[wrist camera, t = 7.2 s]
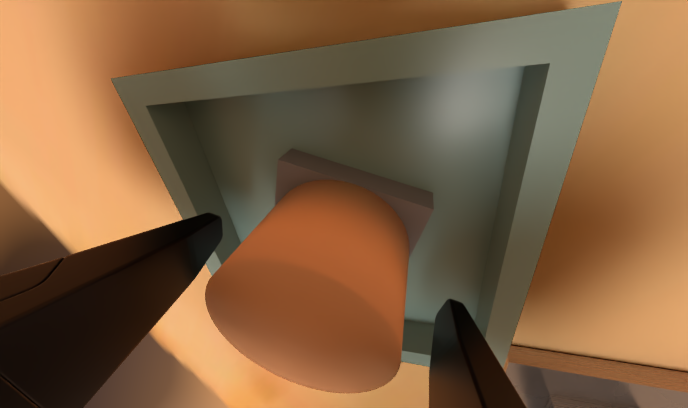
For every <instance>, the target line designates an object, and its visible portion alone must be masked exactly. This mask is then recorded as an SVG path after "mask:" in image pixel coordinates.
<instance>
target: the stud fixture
mask: <svg viewBox="0 0 688 408" xmlns="http://www.w3.org/2000/svg"><path fill="white" fill-rule="evenodd" d="M503 369H504V371H505V373H506V374H507V376H508V378H509V379H510V381H511V382H512V384H513V386H514V387H515V389H516V391H517V392H518V394H519V396H520V397H521V399H522V401H523V402H524V404H525V406H526V407H527V408H688V373H686V372H680V371H673V370H667V369H660V368H654V367H648V366H641V365H635V364H628V363H622V362H615V361H609V360H602V359H596V358H589V357H583V356H576V355H570V354H564V353H557V352H551V351H544V350H538V349H531V348H525V347H518V346H512V345H511V346H510V349H509V352H508V355H507V358H506V361H505V364H504V368H503Z"/></svg>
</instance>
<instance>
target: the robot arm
mask: <svg viewBox="0 0 688 408" xmlns="http://www.w3.org/2000/svg"><path fill="white" fill-rule="evenodd" d="M222 237H223V226H222V218H221V216H219V215H216V214H213V213H210V212H208V213H204V214H201V215H197V216H194V217H191V218H188V219H184V220H181V221H178V222H175V223H172V224H168V225H165V226H162V227H159V228H155V229H152V230H149V231H146V232H143V233H139V234H136V235H133V236H130V237H126V238H123V239H120V240H117V241H113V242H110V243H107V244H104V245H101V246H97V247H94V248H91V249H88V250H84V251H81V252H78V253H75V254H71V255H68V256H66V257H65V258H63V257H62V258H58V259H55V260H52V261H49V262H45V263H42V264H39V265H36V266H32V267H29V268H25V269H22V270H19V271H15V272H12V273H8V274H5V275H1V276H0V408H84V406H85V405H86V404H87V403H88V402H89V401H90V400H91V398H92V397H93V396H94V395H95V394H96V393H97V391H98V390H99V389H100V388H101V387H102V386H103V384H104V383H105V382H106V381H107V380H108V379H109V378H110V376H111V375H112V374H113V373H114V372H115V371H116V369H117V368H118V367H119V366H120V365H121V364H122V362H123V361H124V360H125V359H126V358H127V357H128V356H129V354H130V353H131V352H132V351H133V350H134V348H135V347H136V346H137V345H138V344H139V343H140V342H141V340H142V339H143V338H144V337H145V336H146V335H147V334H148V332H149V331H150V330H151V329H152V328H153V327H154V325H155V324H156V323H157V322H158V321H159V320H160V319H161V317H162V316H163V315H164V314H165V313H166V312H167V310H168V309H169V308H170V307H171V306H172V305H173V303H174V302H175V301H176V300H177V299H178V298H179V297H180V295H181V294H182V293H183V292H184V291H185V290H186V288H187V287H188V286H189V285H190V284H191V282H192V281H193V280H194V279H195V277H196V276H197V275H198V273H199V272H200V270H201V269H202V268H203V266H204V265H205V263H206V262H207V260H208V259H209V258H210V256H211V255H212V253H213V252H214V250H215V249H216V248H217V246H218V245H219V243H220V242H221V240H222ZM429 408H527V407H526V406H525V404H524V402H523V401H522V399H521V397H520V396H519V394H518V392H517V391H516V389H515V387H514V386H513V384H512V382H511V381H510V379H509V378H508V376H507V374H506V373H505V371H504V369H503V368H502V366H501V364H500V363H499V361H498V359H497V358H496V356H495V354H494V353H493V351H492V350H491V348H490V346H489V345H488V343H487V341H486V340H485V338H484V336H483V335H482V333H481V331H480V330H479V328H478V327H477V325H476V323H475V322H474V320H473V318H472V317H471V315H470V313H469V312H468V310H467V308H466V307H465V305H464V304H463V303H462V302H459V301H456V300H454V299H447V300H446V302H445V303H444V304H443V306H442V307H441V308H440V310H439V311H438V313H437V315H436V317H435V323H434V332H433V341H432V350H431V359H430V369H429Z"/></svg>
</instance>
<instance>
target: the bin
mask: <svg viewBox="0 0 688 408" xmlns="http://www.w3.org/2000/svg"><path fill="white" fill-rule="evenodd" d="M621 3H622V1H620V2H613V3H607V4H600V5H594V6H587V7H580V8H574V9H567V10H561V11H554V12H547V13H541V14H534V15H528V16H521V17H514V18H508V19H501V20H495V21H488V22H481V23H475V24H468V25H461V26H455V27H448V28H442V29H435V30H428V31H422V32H415V33H409V34H402V35H395V36H389V37H382V38H376V39H369V40H362V41H356V42H349V43H343V44H336V45H329V46H323V47H316V48H310V49H303V50H296V51H290V52H283V53H276V54H270V55H263V56H257V57H250V58H243V59H237V60H230V61H224V62H217V63H210V64H204V65H197V66H191V67H184V68H177V69H171V70H164V71H158V72H151V73H144V74H138V75H131V76H124V77H118V78H111V80H112V82H113V84H114V86H115V88H116V90H117V92H118V94H119V96H120V98H121V100H122V102H123V104H124V106H125V108H126V110H127V112H128V114H129V115H130V117H131V119H132V121H133V123H134V125H135V127H136V129H137V131H138V133H139V135H140V137H141V139H142V141H143V143H144V145H145V147H146V149H147V151H148V152H149V154H150V156H151V158H152V160H153V162H154V164H155V166H156V168H157V170H158V172H159V174H160V176H161V178H162V180H163V182H164V184H165V186H166V187H167V189H168V191H169V193H170V195H171V197H172V199H173V201H174V203H175V205H176V207H177V209H178V211H179V213H180V215H181V217H182V219H183V220H184V219H188V218H191V217H194V216H197V215H201V214H204V213H208V212H210V213H213V214H216V215H219V216H221V218H222V226H223V237H222V240H221V242H220V243H219V245H218V246H217V248H216V249H215V250H214V252H213V253H212V255H211V256H210V258H209V259H208V260H207V262H206V265H207V267H208V269H209V271H210V273H211V275H212V276H213V274H214V273H215V272H216V271H217V270H218V269H219V268H220V267H221V265H222V264H223V263H224V262H225V261H226V260H227V259H228V258H229V257H230V255H231V254H232V253H233V252H234V251H235V250H236V249H237V248H238V247H239V245H240V244H241V243H242V242H243V241H244V240H245V239H246V238H247V237H248V235H249V234H250V233H251V232H252V231H253V230H254V229H255V228H256V227H257V226H258V224H259V223H260V222H261V221H262V220H263V219H264V218H265V217H266V216H267V214H268V213H269V212H270V211H271V210H272V209H273V208H274V207H275V193H276V179H277V165H278V159H279V158H281V157H282V156H283V155H284V154H285V153H287V152H288V151H289V150H290V149H295V150H299V151H302V152H305V153H308V154H311V155H314V156H318V157H321V158H324V159H327V160H330V161H334V162H337V163H340V164H343V165H346V166H349V167H353V168H356V169H359V170H362V171H365V172H368V173H372V174H375V175H378V176H381V177H384V178H388V179H391V180H394V181H397V182H400V183H403V184H407V185H410V186H413V187H416V188H419V189H423V190H426V191H429V192H432V193H433V204H434V210H433V212H432V214H431V216H430V218H429V220H428V222H427V224H426V226H425V228H424V230H423V232H422V234H421V236H420V238H419V240H418V242H417V244H416V246H415V248H414V250H413V252H412V254H411V256H410V258H409V263H408V276H407V289H406V302H405V315H404V328H403V341H402V354H401V361H402V362H407V363H412V364H417V365H423V366H428V367H430V359H431V350H432V341H433V332H434V323H435V317H436V315H437V313H438V311H439V310H440V308H441V307H442V306H443V304H444V303H445V302H446V300H447V299H454V300H456V301H459V302H462V303H463V304H464V305H465V307H466V308H467V310H468V312H469V313H470V315H471V317H472V318H473V320H474V322H475V323H476V325H477V327H478V328H479V330H480V331H481V333H482V335H483V336H484V338H485V340H486V341H487V343H488V345H489V346H490V348H491V350H492V351H493V353H494V354H495V356H496V358H497V359H498V361H499V363H500V364H501V366H502V368H504V364H505V361H506V358H507V355H508V352H509V349H510V346H511V343H512V340H513V337H514V334H515V330H516V327H517V324H518V321H519V318H520V315H521V312H522V309H523V306H524V303H525V299H526V296H527V293H528V290H529V287H530V284H531V281H532V278H533V275H534V272H535V269H536V265H537V262H538V259H539V256H540V253H541V250H542V247H543V244H544V241H545V238H546V235H547V231H548V228H549V225H550V222H551V219H552V216H553V213H554V210H555V207H556V204H557V201H558V197H559V194H560V191H561V188H562V185H563V182H564V179H565V176H566V173H567V170H568V167H569V163H570V160H571V157H572V154H573V151H574V148H575V145H576V142H577V139H578V136H579V133H580V129H581V126H582V123H583V120H584V117H585V114H586V111H587V108H588V105H589V102H590V99H591V95H592V92H593V89H594V86H595V83H596V80H597V77H598V74H599V71H600V68H601V64H602V61H603V58H604V55H605V52H606V49H607V46H608V43H609V40H610V37H611V34H612V30H613V27H614V24H615V21H616V18H617V15H618V12H619V9H620V6H621Z"/></svg>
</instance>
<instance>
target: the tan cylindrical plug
mask: <svg viewBox="0 0 688 408" xmlns="http://www.w3.org/2000/svg"><path fill="white" fill-rule="evenodd" d="M433 210H434V204H433V193H432V192H429V191H426V190H423V189H419V188H416V187H413V186H410V185H407V184H403V183H400V182H397V181H394V180H391V179H388V178H384V177H381V176H378V175H375V174H372V173H368V172H365V171H362V170H359V169H356V168H353V167H349V166H346V165H343V164H340V163H337V162H334V161H330V160H327V159H324V158H321V157H318V156H314V155H311V154H308V153H305V152H302V151H299V150H295V149H290V150H289V151H288V152H287V153H285V154H284V155H283V156H282V157H281V158H279V159H278V165H277V179H276V193H275V207H274V208H273V209H272V210H271V211H270V212H269V213H268V214H267V216H266V217H265V218H264V219H263V220H262V221H261V222H260V223H259V224H258V226H257V227H256V228H255V229H254V230H253V231H252V232H251V233H250V234H249V235H248V237H247V238H246V239H245V240H244V241H243V242H242V243H241V244H240V245H239V247H238V248H237V249H236V250H235V251H234V252H233V253H232V254H231V255H230V257H229V258H228V259H227V260H226V261H225V262H224V263H223V264H222V265H221V267H220V268H219V269H218V270H217V271H216V272H215V273H214V274H213V276H212V277H211V278H210V280H209V282H208V284H207V286H206V292H205V300H206V305H207V309H208V312H209V314H210V317H211V319H212V320H213V322H214V324H215V325H216V327H217V328H218V330H219V331H220V332H221V334H222V335H223V336H224V337H225V338H226V339H227V340H228V341H229V342H230V343H231V344H232V345H233V346H234V347H235V348H236V349H237V350H238V351H239V352H241V353H242V354H243V355H244V356H246V357H247V358H248V359H250V360H251V361H253V362H254V363H256V364H257V365H259V366H261V367H262V368H264V369H266V370H267V371H269V372H271V373H273V374H275V375H277V376H279V377H282V378H284V379H286V380H288V381H291V382H294V383H296V384H299V385H302V386H306V387H309V388H313V389H317V390H322V391H327V392H335V393H361V392H367V391H371V390H374V389H377V388H379V387H382V386H384V385H385V384H387V383H388V382H389V381H391V380H392V379H393V377H394V376H395V375H396V373H397V372H398V370H399V367H400V363H401V354H402V341H403V328H404V315H405V302H406V289H407V276H408V263H409V258H410V256H411V254H412V252H413V250H414V248H415V246H416V244H417V242H418V240H419V238H420V236H421V234H422V232H423V230H424V228H425V226H426V224H427V222H428V220H429V218H430V216H431V214H432V212H433Z"/></svg>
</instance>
